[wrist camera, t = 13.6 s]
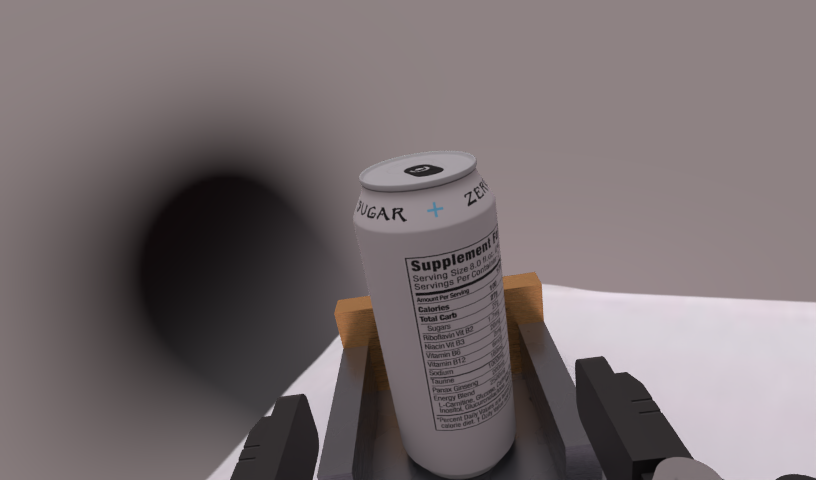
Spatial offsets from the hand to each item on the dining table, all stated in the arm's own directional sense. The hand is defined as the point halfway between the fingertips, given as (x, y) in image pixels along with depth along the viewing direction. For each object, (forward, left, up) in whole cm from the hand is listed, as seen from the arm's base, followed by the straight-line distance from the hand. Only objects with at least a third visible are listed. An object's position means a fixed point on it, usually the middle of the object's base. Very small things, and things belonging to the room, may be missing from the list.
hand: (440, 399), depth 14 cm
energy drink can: (-2, -8, -10) cm, 13 cm away
